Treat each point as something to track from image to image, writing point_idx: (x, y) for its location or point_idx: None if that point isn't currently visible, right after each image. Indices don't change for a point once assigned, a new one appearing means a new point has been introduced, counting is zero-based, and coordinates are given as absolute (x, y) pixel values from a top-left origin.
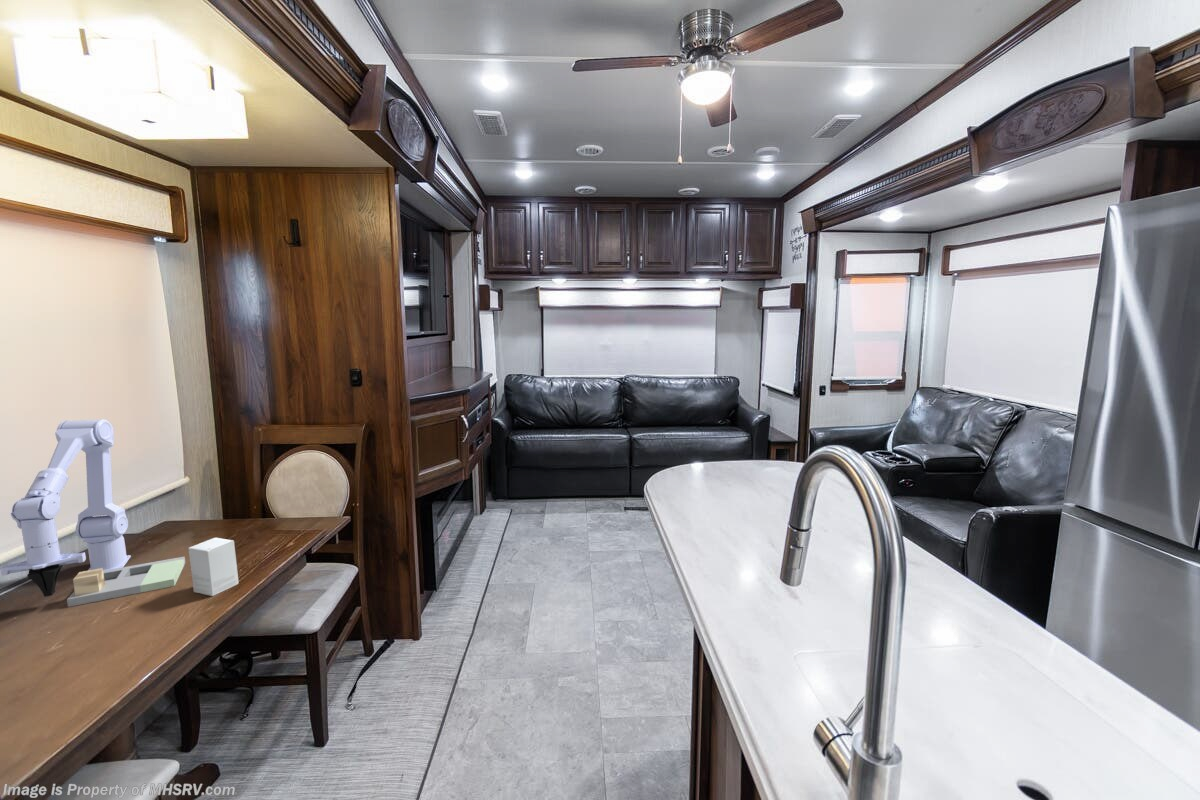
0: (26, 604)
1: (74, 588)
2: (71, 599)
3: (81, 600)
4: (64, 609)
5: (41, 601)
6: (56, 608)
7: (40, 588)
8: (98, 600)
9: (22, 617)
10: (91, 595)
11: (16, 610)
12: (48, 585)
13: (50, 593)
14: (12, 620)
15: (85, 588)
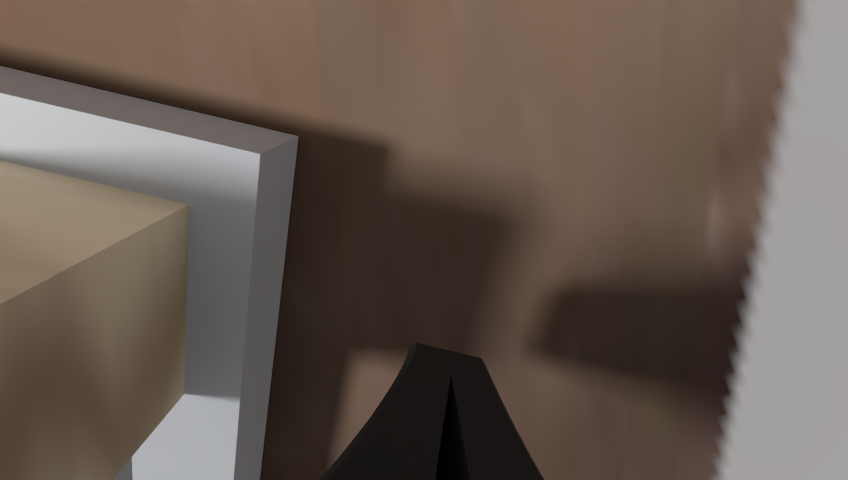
0: (610, 469)
1: (109, 248)
2: (220, 141)
3: (151, 114)
4: (322, 91)
5: None
6: (396, 187)
7: (526, 457)
8: (35, 77)
9: (664, 183)
10: (17, 97)
11: (684, 401)
12: (404, 452)
13: (417, 358)
14: (747, 171)
15: (3, 199)
